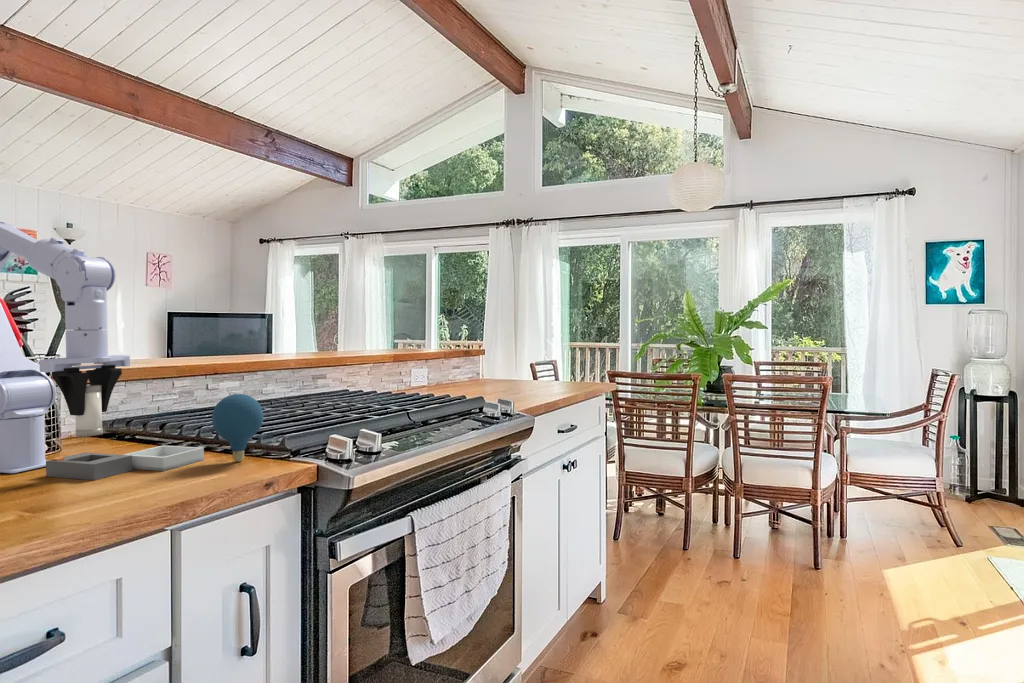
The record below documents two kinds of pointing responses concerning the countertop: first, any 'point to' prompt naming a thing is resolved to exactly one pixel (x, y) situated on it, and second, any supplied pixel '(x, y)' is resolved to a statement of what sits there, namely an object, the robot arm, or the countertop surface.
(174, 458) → the parts tray
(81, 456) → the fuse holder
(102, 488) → the countertop surface
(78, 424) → the cylinder
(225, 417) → the light bulb
